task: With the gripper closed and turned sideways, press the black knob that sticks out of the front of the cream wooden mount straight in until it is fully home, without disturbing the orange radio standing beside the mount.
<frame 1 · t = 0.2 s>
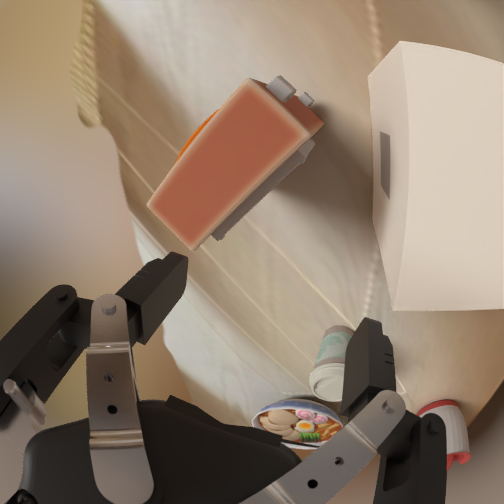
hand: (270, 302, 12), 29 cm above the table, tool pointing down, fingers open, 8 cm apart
coffee cup: (339, 336, 49), on the table
ramen bowl: (303, 407, 63), on the table
knob mount: (414, 152, 31), on the table
orange radio: (278, 140, 37), on the table
citrus juicer: (437, 411, 53), on the table
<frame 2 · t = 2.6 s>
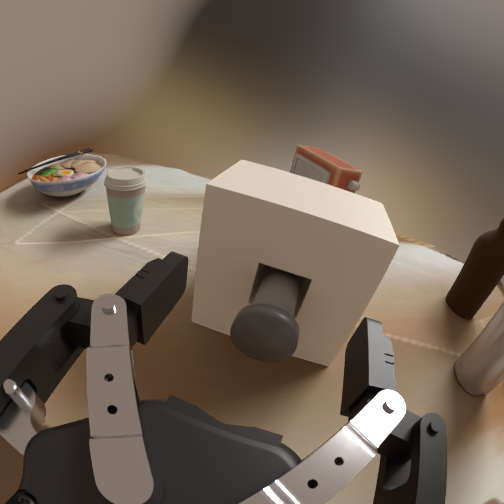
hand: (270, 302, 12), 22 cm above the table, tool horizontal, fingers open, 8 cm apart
olive oil: (459, 307, 54), on the table
coffee cup: (126, 228, 54), on the table
ramen bowl: (67, 192, 63), on the table
knob mount: (269, 317, 42), on the table
orange radio: (295, 258, 58), on the table
knob: (273, 309, 29), point 10 cm above the table, slide at 4.0 cm
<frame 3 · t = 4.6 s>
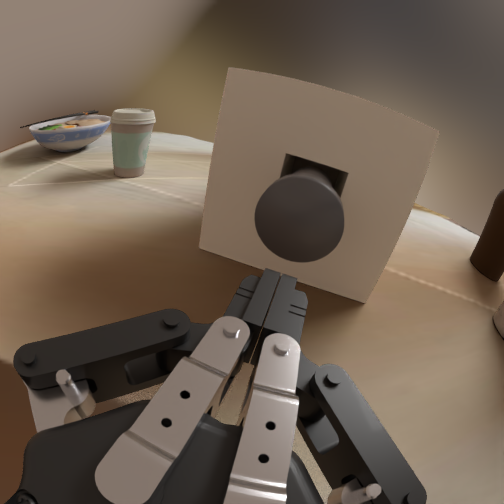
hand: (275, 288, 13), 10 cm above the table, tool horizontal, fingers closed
olive oil: (484, 269, 48), on the table
coffee cup: (128, 173, 49), on the table
ramen bowl: (69, 149, 58), on the table
knob mount: (290, 250, 36), on the table
knob: (305, 202, 24), point 10 cm above the table, slide at 4.0 cm
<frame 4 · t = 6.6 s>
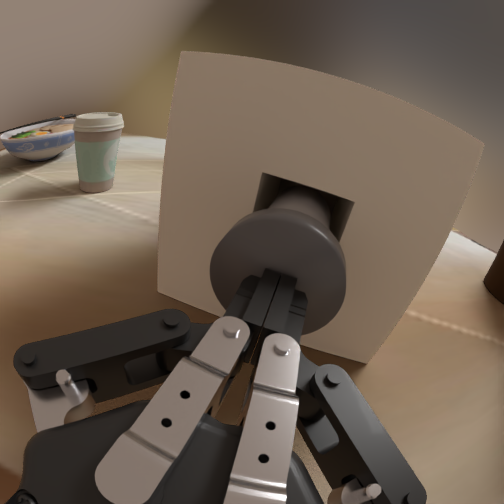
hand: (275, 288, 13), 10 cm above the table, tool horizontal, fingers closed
olive oil: (498, 293, 41), on the table
coffee cup: (96, 187, 41), on the table
ramen bowl: (43, 157, 50), on the table
knob mount: (276, 291, 29), on the table
knob: (290, 242, 17), point 10 cm above the table, slide at 3.0 cm, touching gripper
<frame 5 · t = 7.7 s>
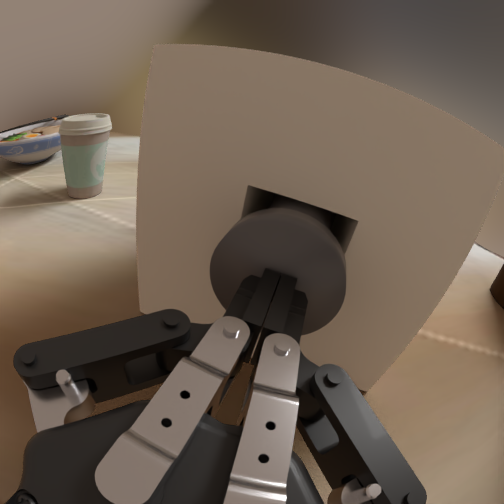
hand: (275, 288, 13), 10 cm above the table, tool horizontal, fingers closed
coffee cup: (85, 192, 39), on the table
ramen bowl: (34, 160, 48), on the table
knob mount: (269, 309, 26), on the table
knob: (291, 242, 17), point 10 cm above the table, slide at -0.1 cm, touching gripper
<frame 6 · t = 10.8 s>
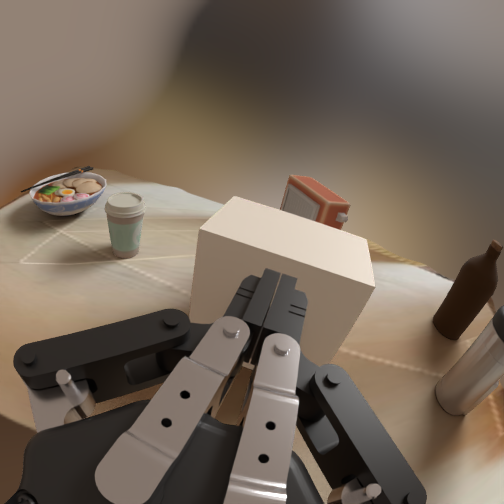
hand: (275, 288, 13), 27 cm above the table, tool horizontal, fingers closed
olive oil: (446, 327, 57), on the table
coffee cup: (125, 251, 57), on the table
ramen bowl: (69, 210, 66), on the table
knob mount: (258, 341, 45), on the table
orange radio: (286, 282, 61), on the table
knob: (266, 318, 36), point 10 cm above the table, slide at -0.1 cm
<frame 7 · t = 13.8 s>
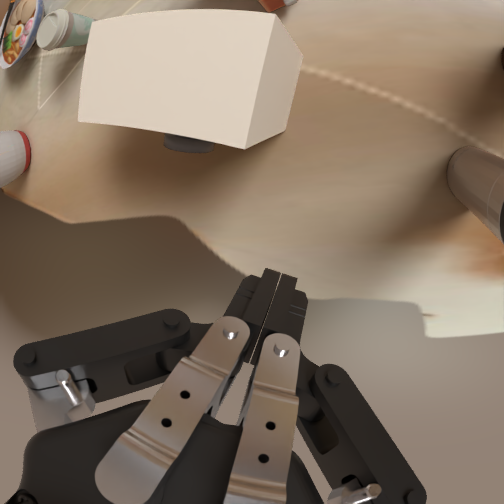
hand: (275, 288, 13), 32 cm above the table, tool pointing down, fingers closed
coffee cup: (92, 32, 36), on the table
ramen bowl: (35, 27, 36), on the table
knob mount: (229, 80, 37), on the table
knob: (193, 112, 31), point 10 cm above the table, slide at -0.1 cm
citrus juicer: (22, 152, 56), on the table
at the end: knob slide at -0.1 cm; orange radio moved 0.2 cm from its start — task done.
